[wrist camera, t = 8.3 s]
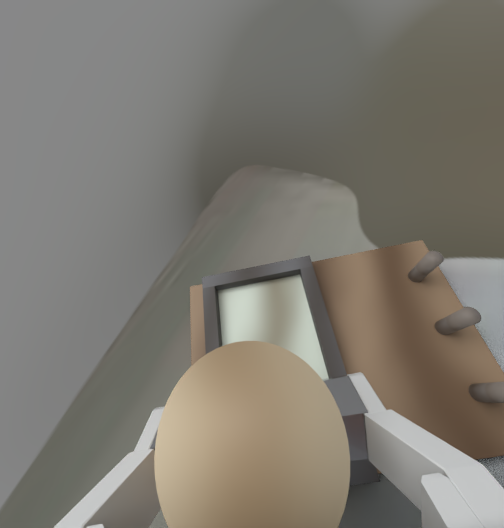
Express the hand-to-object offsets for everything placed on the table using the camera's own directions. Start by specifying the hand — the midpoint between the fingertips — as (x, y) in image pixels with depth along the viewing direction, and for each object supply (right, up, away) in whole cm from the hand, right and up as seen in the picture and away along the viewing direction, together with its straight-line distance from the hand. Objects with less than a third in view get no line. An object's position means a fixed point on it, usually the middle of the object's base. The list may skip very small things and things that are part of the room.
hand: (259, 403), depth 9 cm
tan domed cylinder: (+1, -3, +4) cm, 4 cm away
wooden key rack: (+5, -1, +9) cm, 11 cm away
